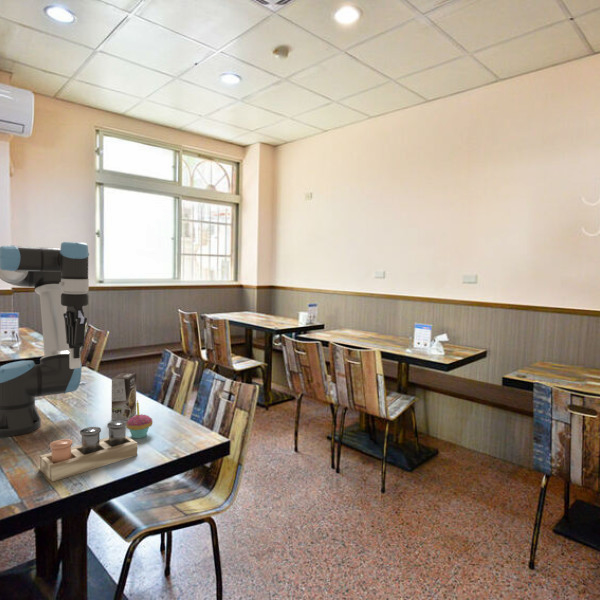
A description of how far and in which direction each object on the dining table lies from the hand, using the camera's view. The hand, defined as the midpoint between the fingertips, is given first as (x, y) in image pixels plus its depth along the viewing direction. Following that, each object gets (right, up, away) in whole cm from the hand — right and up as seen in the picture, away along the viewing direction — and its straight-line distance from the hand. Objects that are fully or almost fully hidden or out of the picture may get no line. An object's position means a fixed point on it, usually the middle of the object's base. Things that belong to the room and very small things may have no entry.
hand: (75, 367), depth 134 cm
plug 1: (+8, -24, -6) cm, 26 cm away
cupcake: (+15, -26, +15) cm, 33 cm away
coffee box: (+2, -24, +33) cm, 41 cm away
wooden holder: (+8, -27, -6) cm, 29 cm away
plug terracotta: (+3, -26, -12) cm, 29 cm away
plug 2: (+13, -24, 0) cm, 27 cm away
